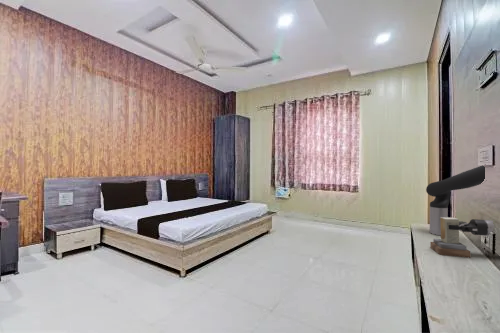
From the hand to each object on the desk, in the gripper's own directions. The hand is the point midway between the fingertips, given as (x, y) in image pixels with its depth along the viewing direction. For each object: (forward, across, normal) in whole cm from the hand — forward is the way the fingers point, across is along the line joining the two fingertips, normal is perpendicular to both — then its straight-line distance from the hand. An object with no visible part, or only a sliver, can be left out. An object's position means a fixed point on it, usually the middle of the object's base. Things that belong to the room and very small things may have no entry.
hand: (444, 225), depth 125 cm
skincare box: (-2, 0, +9) cm, 9 cm away
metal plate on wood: (-2, 0, +14) cm, 14 cm away
